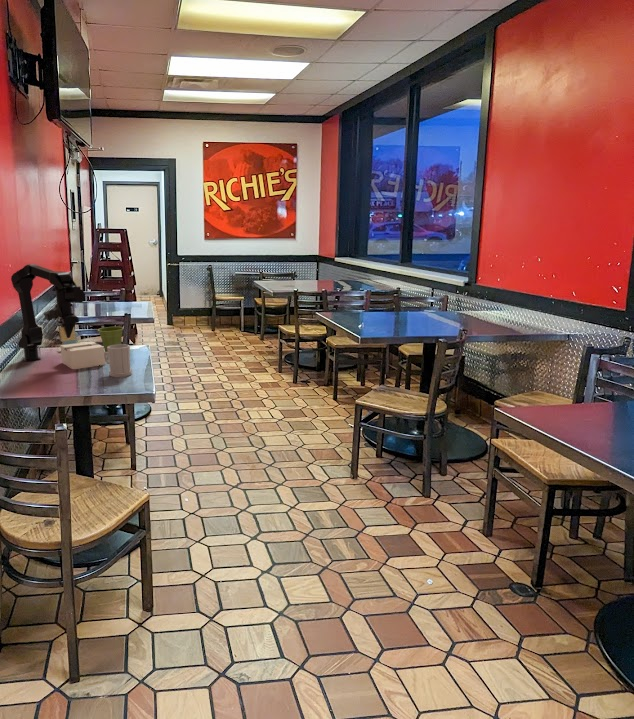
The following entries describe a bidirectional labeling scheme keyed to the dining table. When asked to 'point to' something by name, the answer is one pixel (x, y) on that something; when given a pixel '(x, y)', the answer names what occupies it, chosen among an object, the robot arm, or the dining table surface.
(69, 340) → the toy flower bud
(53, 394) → the dining table surface
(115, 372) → the cup
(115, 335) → the plant pot
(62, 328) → the block
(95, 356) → the box
